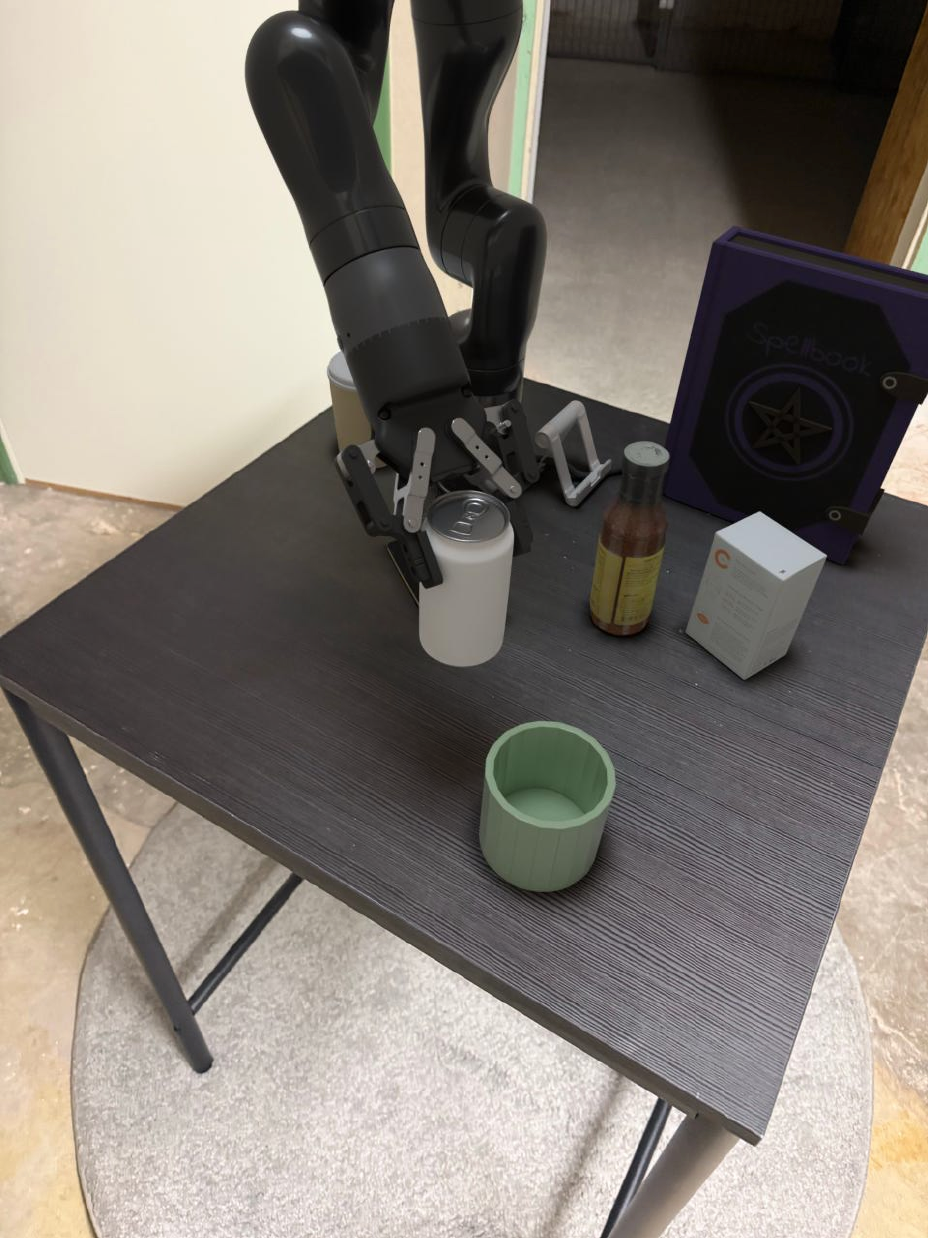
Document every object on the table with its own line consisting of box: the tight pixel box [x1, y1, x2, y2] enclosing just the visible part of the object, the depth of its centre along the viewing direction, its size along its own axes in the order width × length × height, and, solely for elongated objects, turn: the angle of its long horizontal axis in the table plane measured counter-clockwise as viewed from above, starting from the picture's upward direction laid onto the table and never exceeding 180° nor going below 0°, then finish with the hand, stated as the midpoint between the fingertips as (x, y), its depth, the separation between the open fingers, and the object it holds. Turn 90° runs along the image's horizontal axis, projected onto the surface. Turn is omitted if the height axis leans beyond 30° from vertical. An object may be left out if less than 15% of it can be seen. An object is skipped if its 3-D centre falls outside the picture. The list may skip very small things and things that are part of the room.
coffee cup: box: [326, 350, 388, 469], centre depth 105 cm, size 9×9×12 cm
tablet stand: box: [533, 400, 613, 508], centre depth 103 cm, size 9×8×8 cm
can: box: [418, 490, 514, 668], centre depth 62 cm, size 6×6×12 cm
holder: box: [478, 720, 617, 893], centre depth 67 cm, size 10×10×9 cm
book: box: [662, 225, 928, 566], centre depth 92 cm, size 24×6×30 cm, turn 56°
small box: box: [685, 512, 827, 681], centre depth 83 cm, size 8×6×13 cm
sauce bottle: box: [589, 440, 670, 637], centre depth 82 cm, size 7×6×20 cm
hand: (478, 569), depth 60 cm, fingers closed on can, 6 cm apart
